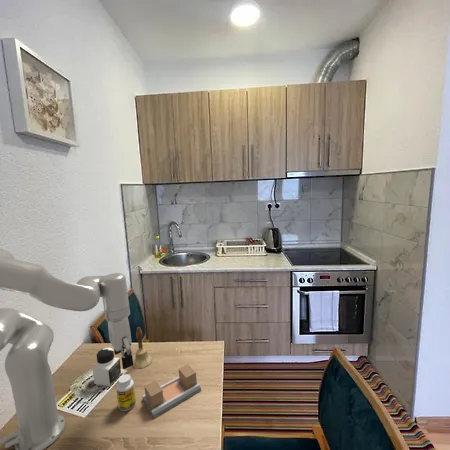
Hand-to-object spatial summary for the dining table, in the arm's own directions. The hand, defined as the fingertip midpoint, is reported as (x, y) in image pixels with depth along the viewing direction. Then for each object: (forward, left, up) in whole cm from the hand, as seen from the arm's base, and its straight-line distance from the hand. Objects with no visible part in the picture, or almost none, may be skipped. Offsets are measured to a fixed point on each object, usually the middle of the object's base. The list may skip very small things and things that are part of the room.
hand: (123, 359), depth 86 cm
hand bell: (+12, +19, -17) cm, 28 cm away
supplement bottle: (0, 0, -17) cm, 17 cm away
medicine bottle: (-2, +18, -17) cm, 25 cm away
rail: (+14, -6, -17) cm, 23 cm away
